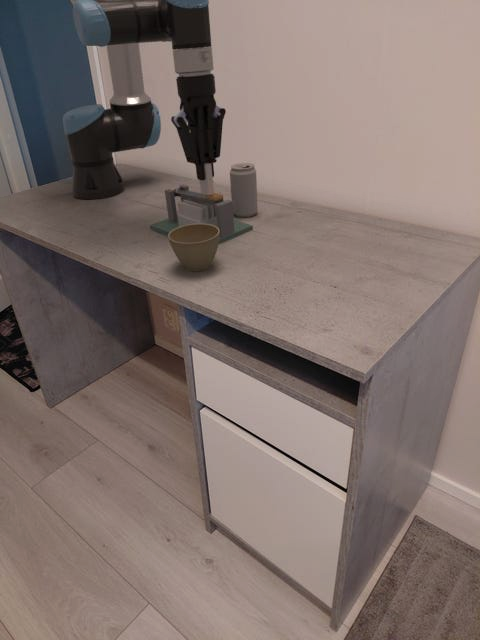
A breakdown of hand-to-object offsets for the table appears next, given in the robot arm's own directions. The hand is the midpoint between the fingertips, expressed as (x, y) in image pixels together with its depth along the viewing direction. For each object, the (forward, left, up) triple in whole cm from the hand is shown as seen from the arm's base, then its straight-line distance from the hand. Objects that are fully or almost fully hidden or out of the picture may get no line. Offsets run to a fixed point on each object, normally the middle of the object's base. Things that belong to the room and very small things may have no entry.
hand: (207, 193), depth 105 cm
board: (-4, 0, -9) cm, 10 cm away
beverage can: (-3, +14, -10) cm, 17 cm away
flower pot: (+11, -13, -10) cm, 20 cm away
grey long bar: (-4, 0, -2) cm, 5 cm away
